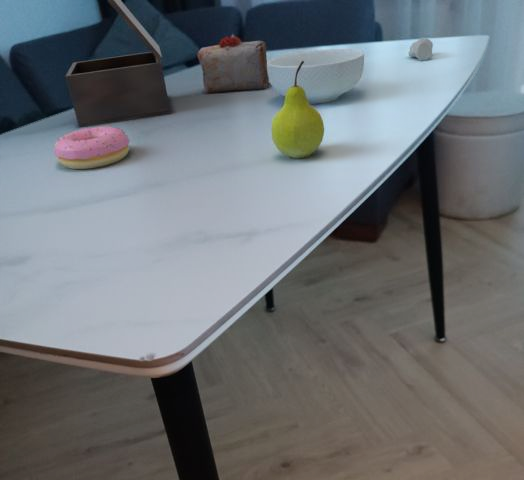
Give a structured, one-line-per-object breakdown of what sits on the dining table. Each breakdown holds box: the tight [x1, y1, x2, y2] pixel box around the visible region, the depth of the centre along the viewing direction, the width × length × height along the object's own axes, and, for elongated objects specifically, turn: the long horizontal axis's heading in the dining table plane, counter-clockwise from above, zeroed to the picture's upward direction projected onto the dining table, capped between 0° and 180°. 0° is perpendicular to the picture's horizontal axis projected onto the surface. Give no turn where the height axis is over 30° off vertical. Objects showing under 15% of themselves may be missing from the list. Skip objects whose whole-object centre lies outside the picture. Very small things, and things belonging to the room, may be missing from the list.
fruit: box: [270, 61, 325, 159], centre depth 77 cm, size 7×7×12 cm
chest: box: [65, 51, 172, 128], centre depth 112 cm, size 17×16×9 cm
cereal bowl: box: [267, 48, 365, 105], centre depth 105 cm, size 17×17×7 cm
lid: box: [107, 0, 163, 61], centre depth 104 cm, size 18×16×6 cm
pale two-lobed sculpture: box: [408, 36, 434, 62], centre depth 127 cm, size 4×8×5 cm
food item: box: [197, 33, 270, 94], centre depth 118 cm, size 14×8×10 cm, turn 81°
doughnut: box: [53, 125, 130, 170], centre depth 88 cm, size 11×11×4 cm
